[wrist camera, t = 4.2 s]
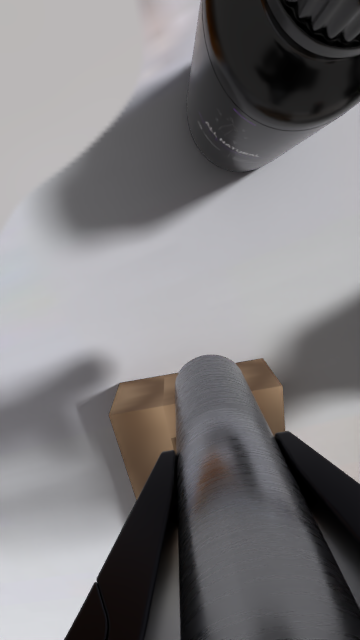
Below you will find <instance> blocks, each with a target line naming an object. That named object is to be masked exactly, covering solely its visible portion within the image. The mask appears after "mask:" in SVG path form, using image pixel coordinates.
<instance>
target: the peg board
mask: <svg viewBox="0 0 360 640" xmlns="http://www.w3.org/2000/svg"><path fill="white" fill-rule="evenodd" d="M235 364H236V365H237V366H238V367H239V368H240V370H241V372H242V374H243V376H244V378H245V380H246V382H247V384H248V386H249V388H250V390H251V392H252V394H253V396H254V398H255V400H256V402H257V404H258V406H259V408H260V410H261V412H262V414H263V416H264V418H265V420H266V422H267V424H268V426H269V428H270V430H271V432H272V434H273V436H275V433H278V432H284V431H285V421H284V403H283V386H282V384H281V383H280V382H279V380H278V379H277V377H276V376H275V375H274V373H273V372H272V370H271V369H270V368H269V366H268V365H267V363H266V362H265V361H264V359H263V358H262V359H256V360H251V361H245V362H239V363H235ZM177 375H178V373H175V374H169V375H163V376H158V377H152V378H146V379H140V380H134V381H129V382H123V383H120V384H119V387H118V390H117V393H116V396H115V399H114V401H113V404H112V407H111V410H110V413H109V417H110V421H111V424H112V427H113V430H114V433H115V436H116V439H117V442H118V445H119V448H120V451H121V454H122V457H123V460H124V463H125V466H126V470H127V473H128V476H129V479H130V482H131V485H132V488H133V491H134V494H135V497H136V500H137V499H138V497H139V495H140V493H141V491H142V489H143V487H144V485H145V483H146V481H147V479H148V477H149V475H150V473H151V471H152V470H153V468H154V466H155V464H156V462H157V460H158V458H159V456H160V454H161V453H162V452H163V451H169V450H174V451H175V452H176V414H175V381H176V378H177Z"/></svg>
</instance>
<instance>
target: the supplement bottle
mask: <svg viewBox="0 0 360 640" xmlns="http://www.w3.org/2000/svg"><path fill="white" fill-rule="evenodd" d="M359 102H360V0H201V2H200V9H199V16H198V22H197V29H196V36H195V43H194V50H193V57H192V64H191V71H190V78H189V85H188V94H187V117H188V123H189V127H190V131H191V134H192V136H193V139H194V141H195V143H196V145H197V146H198V148H199V149H200V151H201V152H202V153H203V155H204V156H205V157H206V158H207V159H208V160H210V161H211V162H212V163H213V164H215V165H217V166H218V167H221V168H223V169H226V170H229V171H234V172H245V171H251V170H254V169H257V168H260V167H262V166H264V165H266V164H268V163H269V162H271V161H273V160H274V159H276V158H277V157H279V156H281V155H282V154H284V153H285V152H287V151H288V150H290V149H291V148H293V147H294V146H296V145H297V144H299V143H300V142H302V141H304V140H305V139H307V138H308V137H310V136H311V135H313V134H314V133H316V132H317V131H319V130H320V129H322V128H323V127H325V126H327V125H328V124H330V123H331V122H333V121H334V120H336V119H337V118H339V117H340V116H342V115H343V114H345V113H346V112H347V111H349V110H350V109H351V108H352V107H354V106H355V105H356V104H358V103H359Z"/></svg>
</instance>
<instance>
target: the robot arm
mask: <svg viewBox="0 0 360 640" xmlns="http://www.w3.org/2000/svg"><path fill="white" fill-rule="evenodd" d="M274 438H275V440H276V442H277V444H278V446H279V448H280V450H281V452H282V454H283V456H284V458H285V460H286V462H287V464H288V466H289V468H290V470H291V472H292V474H293V476H294V478H295V480H296V482H297V484H298V486H299V488H300V490H301V492H302V494H303V496H304V498H305V500H306V502H307V504H308V506H309V508H310V510H311V512H312V514H313V516H314V518H315V520H316V522H317V524H318V526H319V528H320V530H321V532H322V534H323V536H324V538H325V540H326V542H327V544H328V546H329V548H330V550H331V552H332V554H333V556H334V558H335V560H336V562H337V564H338V566H339V568H340V570H341V572H342V574H343V576H344V578H345V580H346V582H347V584H348V586H349V588H350V590H351V592H352V594H353V596H354V598H355V600H356V602H357V604H358V606H359V608H360V484H359V483H358V482H356V481H355V480H354V479H352V478H351V477H350V476H348V475H347V474H346V473H344V472H343V471H342V470H340V469H339V468H338V467H336V466H335V465H334V464H332V463H331V462H330V461H328V460H327V459H326V458H324V457H323V456H322V455H320V454H319V453H318V452H316V451H315V450H313V449H312V448H311V447H309V446H308V445H307V444H305V443H304V442H303V441H301V440H300V439H299V438H297V437H296V436H295V435H293V434H292V433H291V432H289V431H284V432H278V433H275V436H274ZM64 640H180V598H179V552H178V506H177V457H176V452H175V451H174V450H169V451H163V452H162V453H161V454H160V456H159V458H158V460H157V462H156V464H155V466H154V468H153V470H152V471H151V473H150V475H149V477H148V479H147V481H146V483H145V485H144V487H143V489H142V491H141V493H140V495H139V497H138V499H137V501H136V503H135V505H134V507H133V509H132V510H131V512H130V514H129V516H128V518H127V520H126V522H125V524H124V526H123V528H122V530H121V532H120V534H119V536H118V538H117V540H116V542H115V544H114V546H113V548H112V550H111V551H110V553H109V555H108V557H107V559H106V561H105V563H104V565H103V567H102V569H101V571H100V573H99V575H98V577H97V582H95V583H94V584H93V586H92V588H91V590H90V592H89V594H88V596H87V598H86V600H85V602H84V604H83V606H82V608H81V609H80V611H79V613H78V615H77V617H76V619H75V621H74V622H73V624H72V626H71V628H70V630H69V632H68V634H67V636H66V637H65V639H64Z"/></svg>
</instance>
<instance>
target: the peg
mask: <svg viewBox="0 0 360 640" xmlns="http://www.w3.org/2000/svg"><path fill="white" fill-rule="evenodd" d="M175 414H176V457H177V506H178V552H179V598H180V640H360V608H359V606H358V604H357V602H356V600H355V598H354V596H353V594H352V592H351V590H350V588H349V586H348V584H347V582H346V580H345V578H344V576H343V574H342V572H341V570H340V568H339V566H338V564H337V562H336V560H335V558H334V556H333V554H332V552H331V550H330V548H329V546H328V544H327V542H326V540H325V538H324V536H323V534H322V532H321V530H320V528H319V526H318V524H317V522H316V520H315V518H314V516H313V514H312V512H311V510H310V508H309V506H308V504H307V502H306V500H305V498H304V496H303V494H302V492H301V490H300V488H299V486H298V484H297V482H296V480H295V478H294V476H293V474H292V472H291V470H290V468H289V466H288V464H287V462H286V460H285V458H284V456H283V454H282V452H281V450H280V448H279V446H278V444H277V442H276V440H275V438H274V436H273V434H272V432H271V430H270V428H269V426H268V424H267V422H266V420H265V418H264V416H263V414H262V412H261V410H260V408H259V406H258V404H257V402H256V400H255V398H254V396H253V394H252V392H251V390H250V388H249V386H248V384H247V382H246V380H245V378H244V376H243V374H242V372H241V370H240V368H239V367H238V366H237V365H236V364H235V363H234V362H233V361H231V360H230V359H228V358H226V357H223V356H219V355H204V356H200V357H197V358H195V359H193V360H191V361H189V362H188V363H187V364H185V365H184V366H183V367H182V369H181V370H180V371H179V373H178V375H177V378H176V381H175Z"/></svg>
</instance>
